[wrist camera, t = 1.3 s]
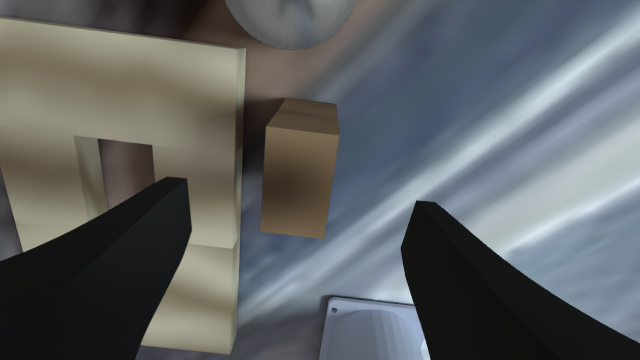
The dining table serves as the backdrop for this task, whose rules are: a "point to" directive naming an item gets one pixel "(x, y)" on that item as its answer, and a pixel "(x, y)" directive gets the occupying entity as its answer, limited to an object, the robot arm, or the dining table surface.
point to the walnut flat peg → (299, 168)
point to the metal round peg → (291, 20)
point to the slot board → (137, 127)
